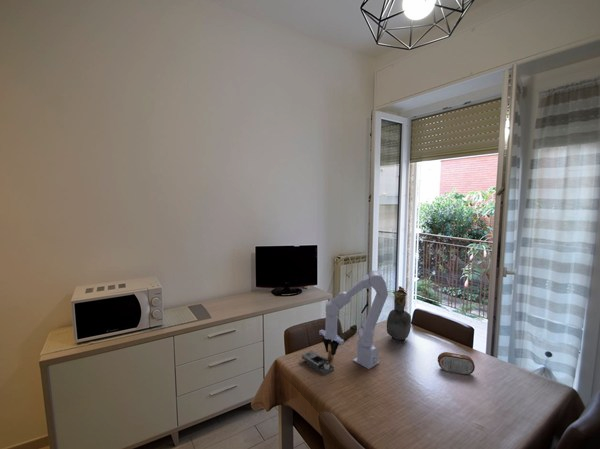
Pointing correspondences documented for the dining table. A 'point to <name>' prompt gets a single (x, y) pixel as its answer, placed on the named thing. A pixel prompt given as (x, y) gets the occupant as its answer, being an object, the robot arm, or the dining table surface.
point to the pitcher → (399, 318)
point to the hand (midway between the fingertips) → (330, 353)
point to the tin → (456, 363)
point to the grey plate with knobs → (321, 366)
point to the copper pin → (330, 353)
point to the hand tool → (349, 332)
